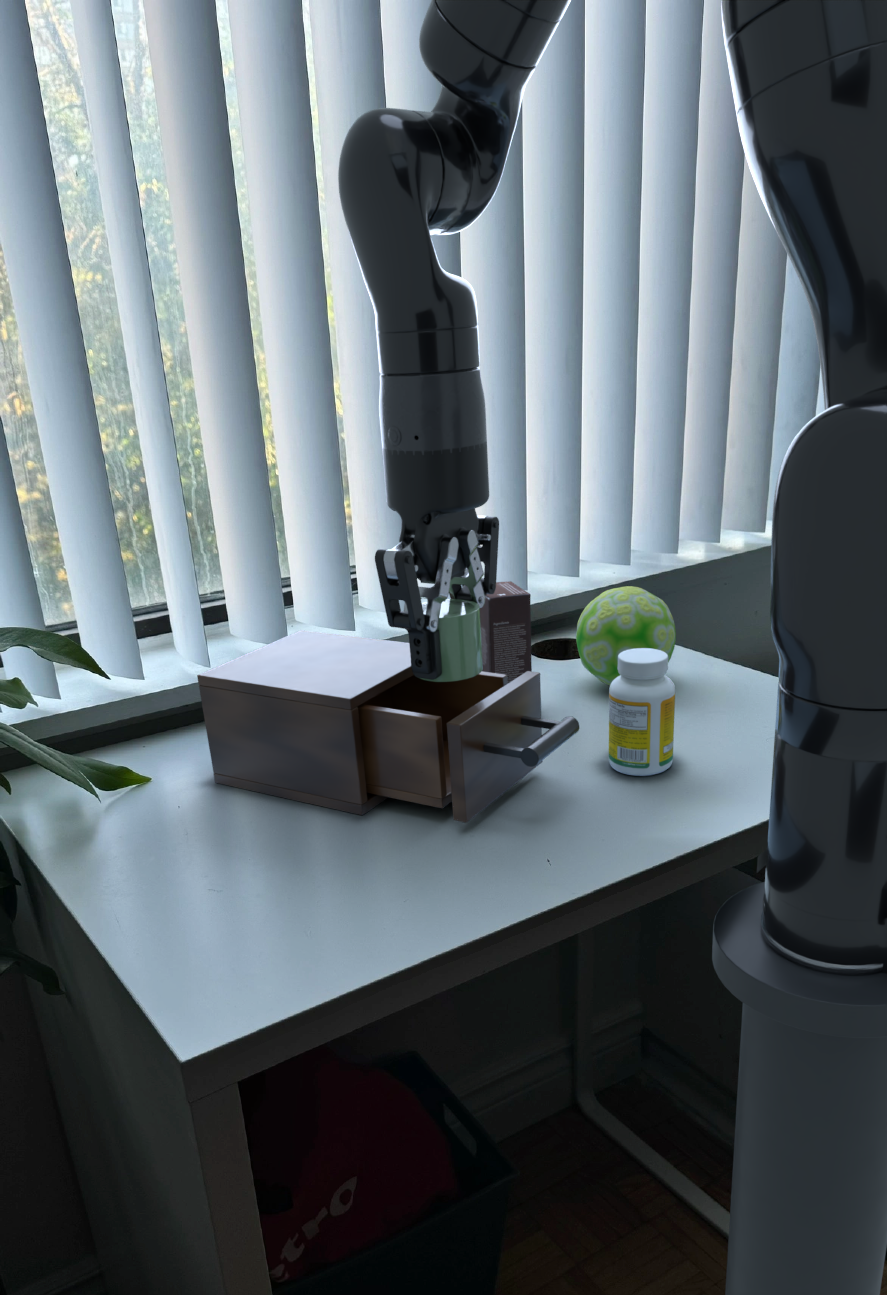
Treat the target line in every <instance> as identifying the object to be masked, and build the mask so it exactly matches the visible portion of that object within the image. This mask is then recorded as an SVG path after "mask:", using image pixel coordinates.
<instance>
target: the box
mask: <svg viewBox="0 0 887 1295" xmlns="http://www.w3.org/2000/svg"><path fill="white" fill-rule="evenodd" d="M531 597H532V596H531V593H530V592H528V591H527V590H525V589H523V588H522V587H520V586H519V585H518V584H516V583H514V582H513V581H511V580H509V581H496V590H495V592H494V593H493V594H487V595H486V596H485V604H484V606H483V607H482V608H480V619H481V641H482V661H483V670H482V672H490V673H497V674H505V675H507V681H508V683H510V682H511V681H513V680H514V679H516V678H517V677H519V676H521V675H522V674H524V673H525V672H527V671H532V672H533V668H532V667H533V666H532V619H531V618H532V616H531V612H532V609H531V608H532V607H531Z"/></svg>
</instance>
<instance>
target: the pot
mask: <svg viewBox="0 0 887 1295" xmlns="http://www.w3.org/2000/svg"><path fill="white" fill-rule="evenodd" d="M421 603H422V608H423V613H424V614H426V609H427V601H424V602H421ZM437 630H439V636H440V651H441V666H442V674H441V676H439V677H438V678H436V679H434V680H430V679H423V678H420V679H423V680H426V681H433V682H452V681H459V680H464V679H468V678H471V677H474V676H476V675H478V674H479V673H481V672H482V670H483V661H482V641H481V621H480V606H479V605H478V604H477V603H475V602H473V601H469V600H462V599H451V598H447V599H446V600H445V601H443V602H442V604H441V609H440V616H439V623H438V628H437Z"/></svg>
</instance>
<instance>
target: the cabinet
mask: <svg viewBox="0 0 887 1295" xmlns="http://www.w3.org/2000/svg"><path fill="white" fill-rule="evenodd" d="M410 654H411V653H410V645H409V642H403V641H395V640H388V639H387V640H386V639H380V638H379V639H378V638H370V637H363V636H355V635H346V634H337V633H329V632H320V631H312V630H306V629H305V630H303V629H300V630H298V631H295V632H293V633H291V634H289V635H286V636H284V637H281V638H279V639H277V640H275V641H272V642H269V643H268V644H266V645H263V646H260V647H259V648H256V649H254V650H251V651H249V652H247V653H245V654H242V655H240V656H238V657H235V658H233V659H231V660H229V661H227V662H224V663H222V664H219V665H217V666H215V667H212V668H211V669H208V670H206V671H204V672H201V673H199V674H196V677H197V684H198V687H199V688H198V689H199V695H200V701H201V706H202V712H203V713H202V714H203V719H204V725H205V729H206V730H205V731H206V736H207V743H208V748H209V754H210V761H211V767H212V772H213V780H214V783H215V784H220V785H224V786H230V787H232V788H233V787H234V788H238V789H242V790H247V791H252V792H256V793H261V794H264V795H269V796H274V797H279V798H283V799H287V800H291V801H297V802H299V803H300V802H301V803H305V804H310V805H315V806H319V807H323V808H328V809H331V810H337V811H341V812H346V813H351V814H355V815H359V816H364V815H365V814H367V813H368V812H370V811H371V810H372V809H374V808H375V807H377V806H378V805H380V804H381V803H383V802H384V801H386V800H387V799H388V798H389V797H385V796H380V795H376V794H371V793H367V790H366V781H365V771H364V762H363V752H362V743H361V733H360V724H359V714H358V707H357V706H359V705H361V704H362V703H364V702H366V701H368V700H370V699H371V698H373V697H375V696H377V695H379V694H380V693H382V692H384V691H386V690H388V689H389V688H391V687H393V686H395V685H397V684H398V683H400V682H402V681H404V680H406V679H407V678H409V677H411V676H413V675H414V674H413V671H412V667H411V657H410Z"/></svg>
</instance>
